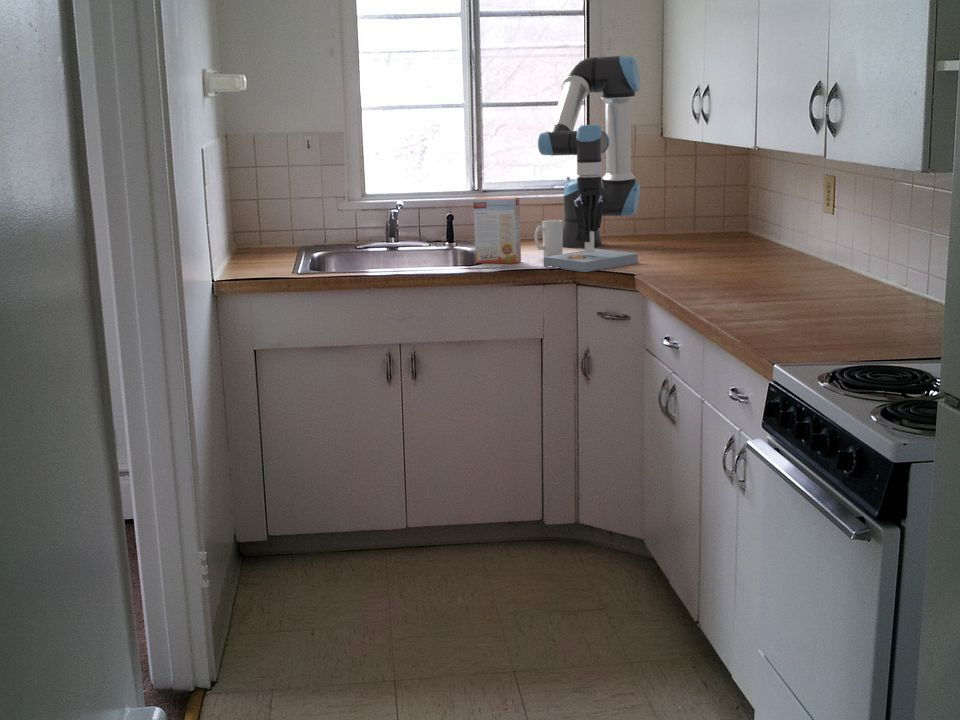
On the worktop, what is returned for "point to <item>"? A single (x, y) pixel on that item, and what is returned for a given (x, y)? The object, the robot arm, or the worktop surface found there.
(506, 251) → the cracker box
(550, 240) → the mug
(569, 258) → the tray
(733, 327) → the worktop surface
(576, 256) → the ball
